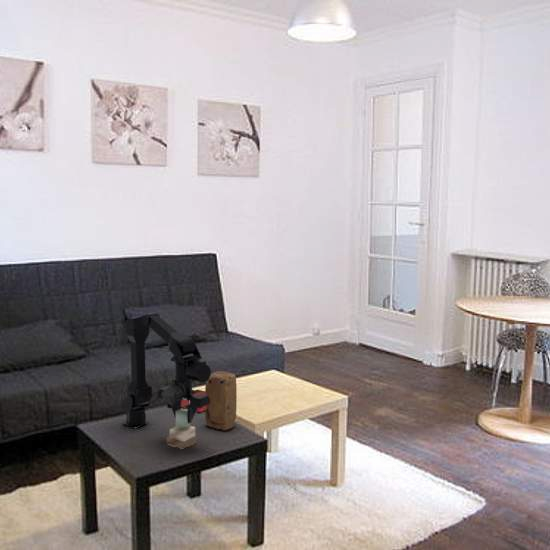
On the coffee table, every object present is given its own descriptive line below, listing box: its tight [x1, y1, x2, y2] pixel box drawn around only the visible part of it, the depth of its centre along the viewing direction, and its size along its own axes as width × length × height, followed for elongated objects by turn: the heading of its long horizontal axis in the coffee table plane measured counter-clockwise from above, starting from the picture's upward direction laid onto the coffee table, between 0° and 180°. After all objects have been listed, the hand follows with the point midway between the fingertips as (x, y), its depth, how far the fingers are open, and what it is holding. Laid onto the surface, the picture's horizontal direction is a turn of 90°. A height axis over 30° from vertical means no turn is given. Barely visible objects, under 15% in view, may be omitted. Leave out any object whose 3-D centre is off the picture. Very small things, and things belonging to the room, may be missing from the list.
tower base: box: [166, 434, 198, 448], centre depth 215 cm, size 7×7×3 cm
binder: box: [166, 389, 206, 414], centre depth 257 cm, size 16×2×21 cm
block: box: [204, 370, 238, 431], centre depth 230 cm, size 11×8×20 cm
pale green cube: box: [175, 409, 192, 427], centre depth 213 cm, size 5×5×4 cm
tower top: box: [169, 425, 196, 441], centre depth 214 cm, size 6×6×3 cm
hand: (183, 421), depth 214 cm, fingers closed on pale green cube, 5 cm apart
